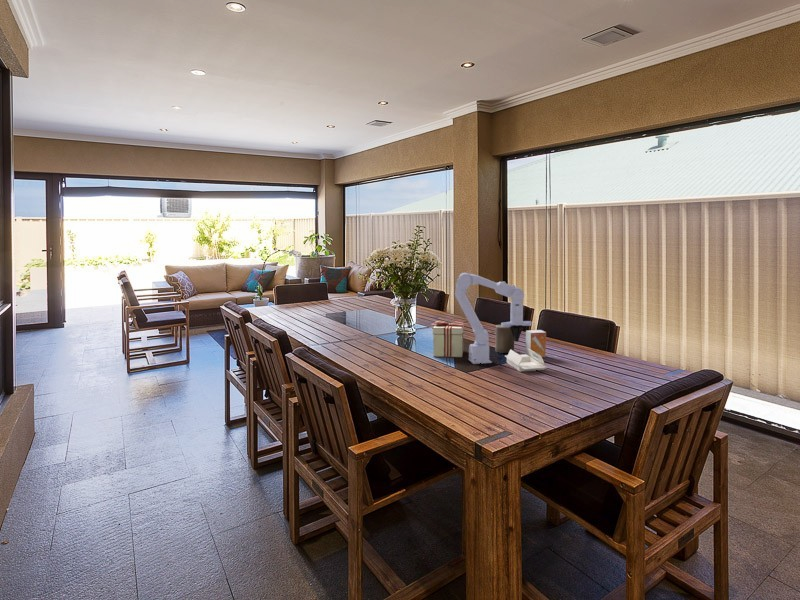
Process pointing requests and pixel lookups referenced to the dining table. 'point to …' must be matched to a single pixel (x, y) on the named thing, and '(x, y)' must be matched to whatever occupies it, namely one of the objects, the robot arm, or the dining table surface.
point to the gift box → (448, 339)
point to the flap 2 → (536, 356)
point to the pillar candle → (504, 339)
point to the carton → (527, 364)
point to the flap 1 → (514, 357)
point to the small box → (535, 342)
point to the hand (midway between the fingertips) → (516, 341)
